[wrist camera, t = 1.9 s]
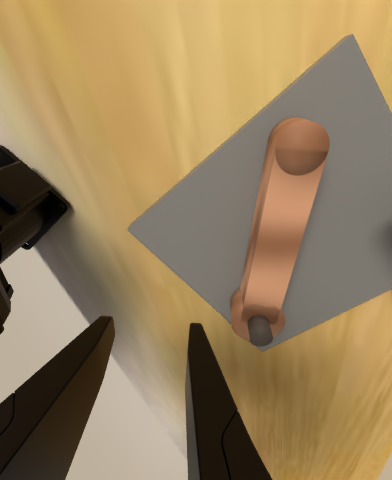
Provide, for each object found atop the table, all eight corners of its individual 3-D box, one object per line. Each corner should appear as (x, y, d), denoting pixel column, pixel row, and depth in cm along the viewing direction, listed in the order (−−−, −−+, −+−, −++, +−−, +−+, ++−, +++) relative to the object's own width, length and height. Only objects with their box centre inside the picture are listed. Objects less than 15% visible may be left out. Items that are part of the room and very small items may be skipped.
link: (272, 321, 25) (283, 359, 22) (227, 317, 25) (229, 354, 22) (331, 119, 17) (364, 127, 13) (261, 114, 17) (275, 121, 13)
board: (260, 343, 29) (262, 351, 28) (130, 224, 22) (127, 229, 21) (451, 248, 22) (460, 255, 21) (344, 36, 16) (352, 33, 15)
